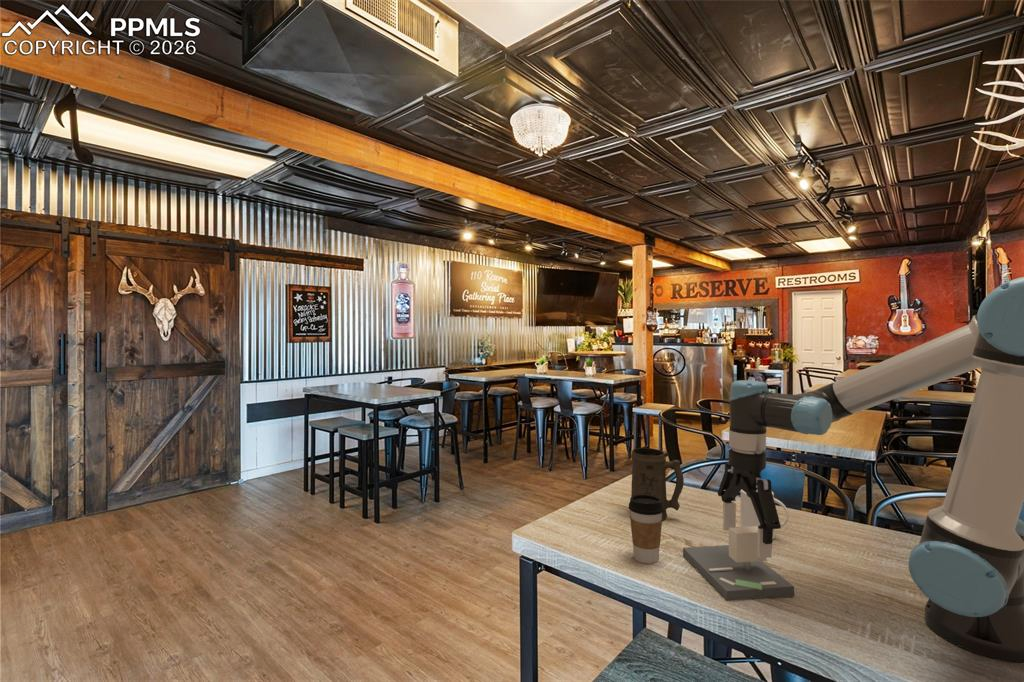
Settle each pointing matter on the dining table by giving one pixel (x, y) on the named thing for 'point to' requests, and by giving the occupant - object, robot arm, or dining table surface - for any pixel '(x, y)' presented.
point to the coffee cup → (646, 527)
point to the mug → (750, 515)
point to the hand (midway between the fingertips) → (745, 542)
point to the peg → (742, 547)
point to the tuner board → (737, 575)
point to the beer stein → (655, 476)
